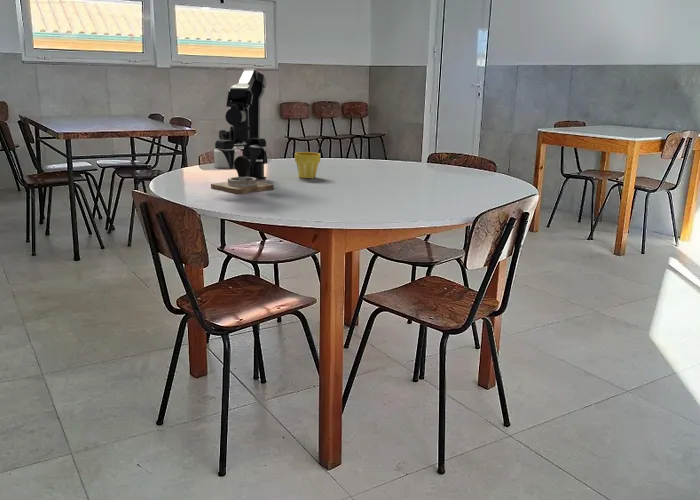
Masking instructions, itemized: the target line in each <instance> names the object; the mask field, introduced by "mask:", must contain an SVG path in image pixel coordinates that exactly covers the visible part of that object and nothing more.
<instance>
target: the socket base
mask: <svg viewBox="0 0 700 500" xmlns="http://www.w3.org/2000/svg"><path fill="white" fill-rule="evenodd" d="M257 180H258V179H256V178H253V177H246V181H239V177H238V176H233V177H228V178H227V181H222V182H215V183H210V189H214V190H219V191H223V192H227V193H231V194H236V195H241V194H248V193H254V192H261V191H262V192H263V191H268V190H269V191H270V190H274V188H275V186H274V184H271V183H266V182H260V181H257Z"/></svg>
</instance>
